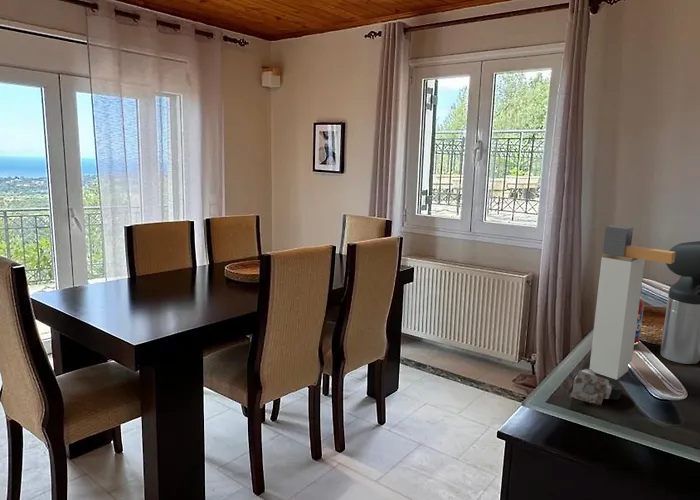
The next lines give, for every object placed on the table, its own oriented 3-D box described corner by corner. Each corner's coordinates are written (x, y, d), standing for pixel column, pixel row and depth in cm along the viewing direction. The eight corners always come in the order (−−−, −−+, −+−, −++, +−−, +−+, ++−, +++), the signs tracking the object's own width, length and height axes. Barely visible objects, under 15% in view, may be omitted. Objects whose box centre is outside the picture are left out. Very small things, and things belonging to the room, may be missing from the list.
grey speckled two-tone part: (612, 399, 124) (622, 414, 114) (565, 384, 127) (570, 397, 117) (621, 374, 123) (631, 387, 113) (573, 359, 126) (579, 371, 116)
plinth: (630, 368, 135) (645, 252, 128) (616, 379, 128) (631, 258, 121) (603, 360, 140) (616, 248, 133) (589, 370, 133) (601, 254, 126)
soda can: (612, 336, 156) (617, 290, 153) (640, 342, 152) (646, 295, 148) (606, 344, 150) (611, 296, 147) (635, 350, 146) (642, 301, 142)
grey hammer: (675, 261, 118) (679, 232, 117) (669, 264, 116) (673, 234, 114) (609, 251, 129) (612, 224, 128) (602, 253, 127) (605, 226, 125)
